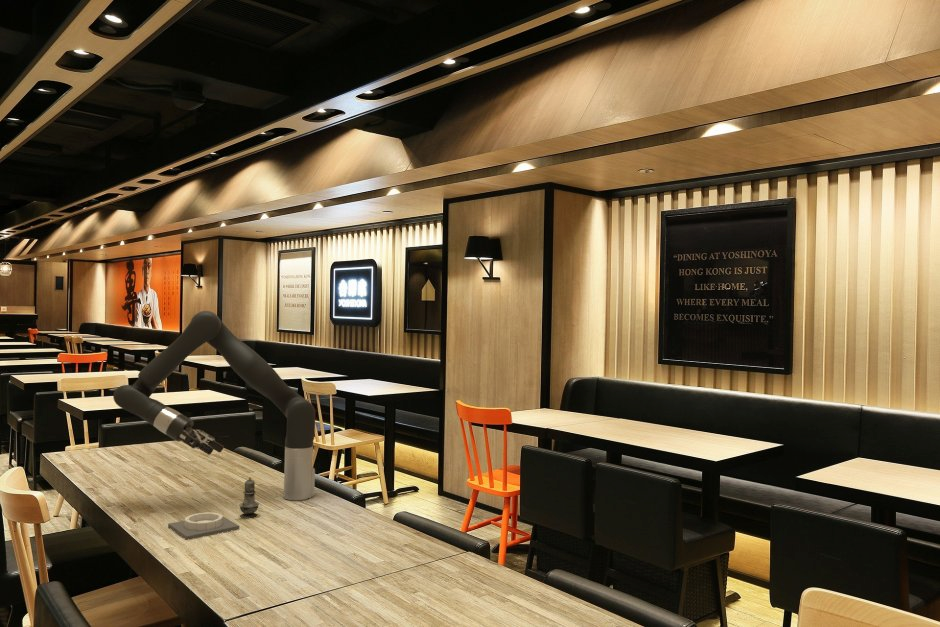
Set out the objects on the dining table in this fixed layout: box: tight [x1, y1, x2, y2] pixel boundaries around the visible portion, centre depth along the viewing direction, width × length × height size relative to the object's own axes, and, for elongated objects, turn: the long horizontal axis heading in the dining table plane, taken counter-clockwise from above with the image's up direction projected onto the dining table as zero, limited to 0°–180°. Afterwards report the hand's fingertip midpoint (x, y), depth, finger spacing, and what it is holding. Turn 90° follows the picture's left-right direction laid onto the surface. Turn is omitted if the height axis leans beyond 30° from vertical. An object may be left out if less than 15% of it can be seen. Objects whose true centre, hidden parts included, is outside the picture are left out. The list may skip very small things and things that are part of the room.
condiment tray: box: [167, 512, 240, 541], centre depth 196 cm, size 15×14×3 cm
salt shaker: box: [238, 476, 260, 520], centre depth 208 cm, size 6×6×12 cm
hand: (217, 450), depth 211 cm, fingers open, 8 cm apart
